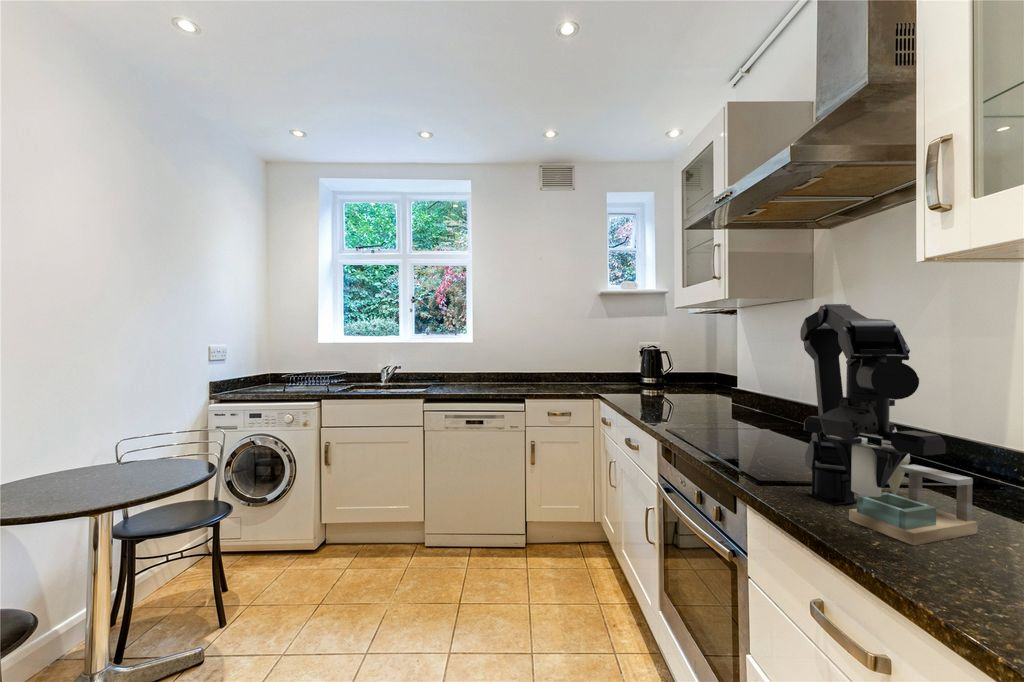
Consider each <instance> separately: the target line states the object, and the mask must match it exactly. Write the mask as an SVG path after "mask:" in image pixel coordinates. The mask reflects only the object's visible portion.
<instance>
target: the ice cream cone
mask: <svg viewBox="0 0 1024 682" xmlns="http://www.w3.org/2000/svg"><path fill="white" fill-rule="evenodd" d="M891 432H898V430H897V427H896V426H895V430H891ZM910 462H911V455H910V454H907V456H906V457H905V458H904V459H903V460H902V461H901V463H900V464H899V465H898V466H897V468H896V469H895V471H894V472H893V474H892V475H891V477H890V478H889V480H888V482H887V483H888V485H889V487H890V491H891V494H894V495H897V493H898V491H899V488H900V487H901V484H902V482H903V478H904V477H905V474H906V473H905V472H901V471H899V466H903V465H910Z"/></svg>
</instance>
